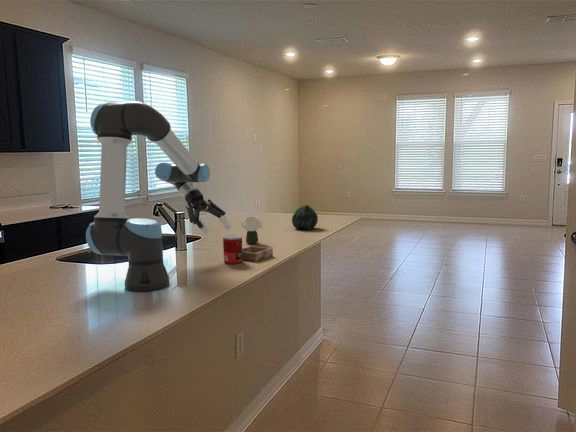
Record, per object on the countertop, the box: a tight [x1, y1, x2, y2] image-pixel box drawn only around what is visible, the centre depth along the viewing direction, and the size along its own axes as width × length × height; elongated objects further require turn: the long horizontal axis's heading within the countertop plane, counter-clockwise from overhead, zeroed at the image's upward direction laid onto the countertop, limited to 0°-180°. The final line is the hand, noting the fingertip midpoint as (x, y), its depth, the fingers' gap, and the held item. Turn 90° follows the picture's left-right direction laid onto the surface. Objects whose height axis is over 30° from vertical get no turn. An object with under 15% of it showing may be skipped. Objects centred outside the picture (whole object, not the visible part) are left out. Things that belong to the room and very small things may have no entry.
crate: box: [242, 245, 274, 263], centre depth 216 cm, size 12×12×4 cm
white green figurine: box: [241, 216, 263, 244], centre depth 249 cm, size 11×7×13 cm, turn 73°
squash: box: [291, 204, 319, 230], centre depth 291 cm, size 14×15×15 cm
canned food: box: [222, 234, 244, 265], centre depth 207 cm, size 8×8×11 cm
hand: (218, 230), depth 211 cm, fingers open, 13 cm apart
